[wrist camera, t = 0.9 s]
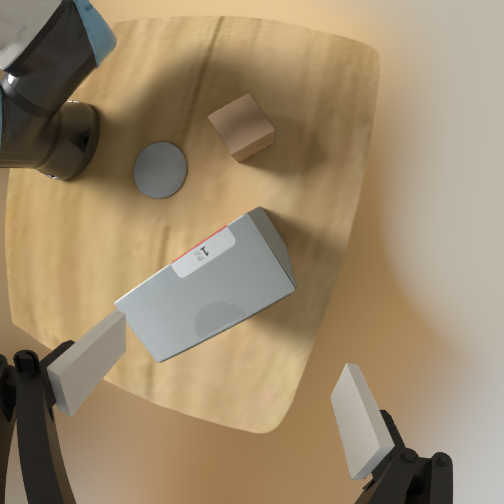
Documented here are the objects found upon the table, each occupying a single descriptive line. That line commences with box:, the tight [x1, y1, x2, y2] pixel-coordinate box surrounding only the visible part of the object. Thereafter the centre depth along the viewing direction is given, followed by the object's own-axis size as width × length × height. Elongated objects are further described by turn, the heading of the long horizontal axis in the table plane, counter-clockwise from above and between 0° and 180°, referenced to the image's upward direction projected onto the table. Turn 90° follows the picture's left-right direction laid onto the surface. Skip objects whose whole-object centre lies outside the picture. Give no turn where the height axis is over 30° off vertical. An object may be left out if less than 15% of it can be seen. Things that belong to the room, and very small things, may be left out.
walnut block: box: [207, 93, 275, 163], centre depth 34 cm, size 6×6×8 cm
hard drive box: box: [114, 207, 297, 363], centre depth 32 cm, size 16×8×20 cm, turn 123°
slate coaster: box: [134, 142, 187, 198], centre depth 40 cm, size 9×9×1 cm
